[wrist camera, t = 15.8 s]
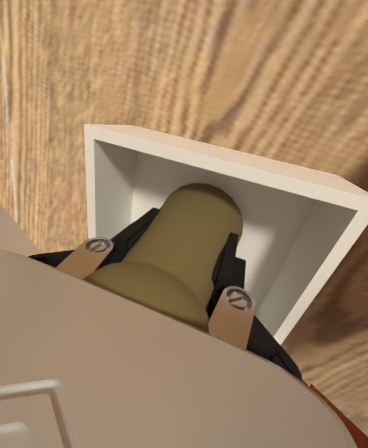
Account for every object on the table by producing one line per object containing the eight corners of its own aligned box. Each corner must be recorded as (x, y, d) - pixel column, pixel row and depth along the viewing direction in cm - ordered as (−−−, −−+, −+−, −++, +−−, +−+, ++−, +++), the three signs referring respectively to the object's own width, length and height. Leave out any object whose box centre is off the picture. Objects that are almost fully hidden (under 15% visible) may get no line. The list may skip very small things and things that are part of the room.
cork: (240, 177, 12) (194, 339, 3) (245, 261, 15) (229, 505, 5) (153, 187, 14) (-41, 299, 5) (169, 258, 17) (57, 430, 7)
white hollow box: (125, 260, 21) (90, 296, 17) (135, 125, 15) (83, 124, 11) (259, 313, 19) (261, 372, 14) (337, 175, 12) (384, 201, 8)
